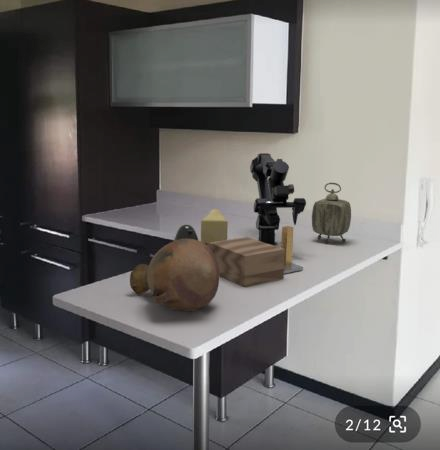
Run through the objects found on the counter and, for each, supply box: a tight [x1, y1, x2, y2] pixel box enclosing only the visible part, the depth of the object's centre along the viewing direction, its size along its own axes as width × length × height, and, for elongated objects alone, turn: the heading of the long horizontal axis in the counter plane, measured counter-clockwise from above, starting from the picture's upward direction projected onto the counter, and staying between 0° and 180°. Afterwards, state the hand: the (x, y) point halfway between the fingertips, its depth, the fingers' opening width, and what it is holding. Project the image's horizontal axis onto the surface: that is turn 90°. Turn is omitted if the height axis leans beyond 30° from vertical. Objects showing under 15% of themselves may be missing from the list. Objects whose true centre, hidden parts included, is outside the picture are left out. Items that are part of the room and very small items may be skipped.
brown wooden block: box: [209, 236, 285, 288], centre depth 185 cm, size 20×16×10 cm
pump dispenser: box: [173, 223, 199, 241], centre depth 192 cm, size 10×10×15 cm
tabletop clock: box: [311, 182, 352, 244], centre depth 231 cm, size 14×9×25 cm, turn 61°
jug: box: [129, 239, 220, 312], centre depth 157 cm, size 20×20×30 cm
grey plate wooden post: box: [280, 225, 304, 275], centre depth 189 cm, size 26×13×14 cm, turn 125°
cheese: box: [200, 208, 229, 243], centre depth 215 cm, size 22×10×15 cm, turn 179°
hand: (282, 224), depth 202 cm, fingers open, 9 cm apart
